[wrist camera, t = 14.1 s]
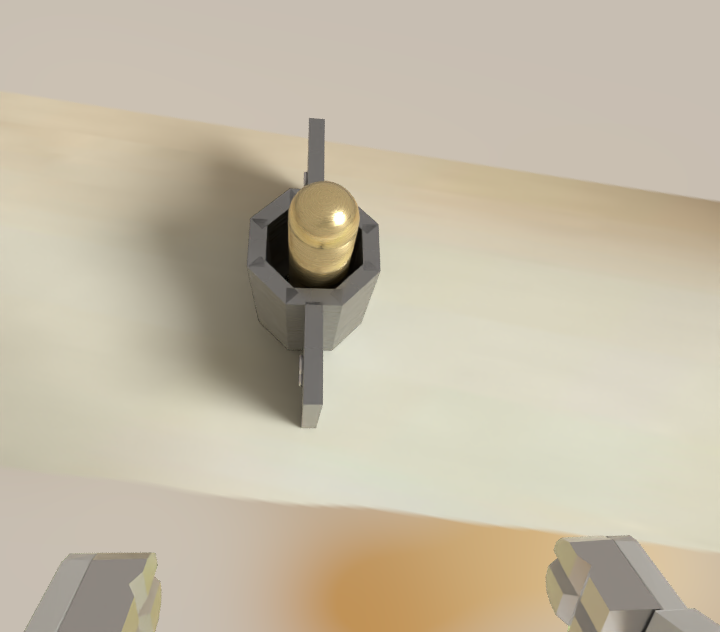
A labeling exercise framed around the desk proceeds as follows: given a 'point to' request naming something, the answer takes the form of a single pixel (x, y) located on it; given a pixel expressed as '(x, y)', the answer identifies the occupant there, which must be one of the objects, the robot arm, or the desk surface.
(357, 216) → the brass pin
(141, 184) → the desk surface
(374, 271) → the octagonal sleeve with tab
